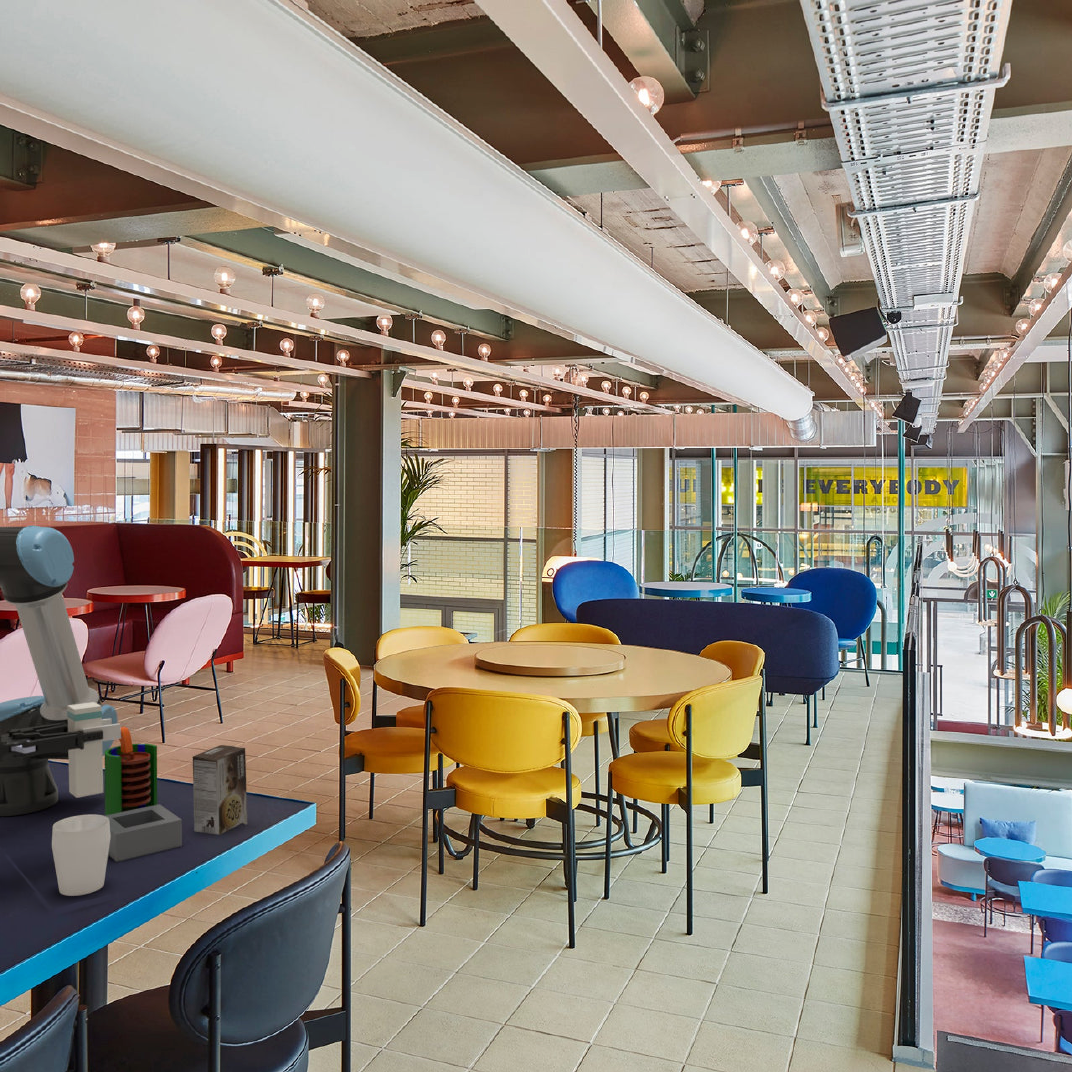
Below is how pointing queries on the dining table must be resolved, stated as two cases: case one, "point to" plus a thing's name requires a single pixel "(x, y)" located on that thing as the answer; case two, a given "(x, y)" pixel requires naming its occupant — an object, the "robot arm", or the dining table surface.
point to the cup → (81, 853)
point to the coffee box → (219, 789)
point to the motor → (130, 775)
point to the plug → (85, 752)
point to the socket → (143, 832)
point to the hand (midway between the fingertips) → (115, 728)
